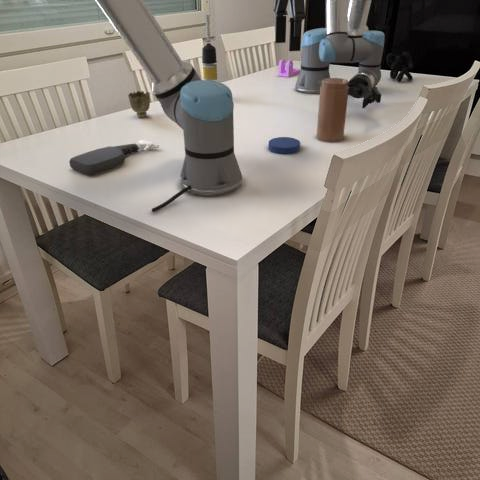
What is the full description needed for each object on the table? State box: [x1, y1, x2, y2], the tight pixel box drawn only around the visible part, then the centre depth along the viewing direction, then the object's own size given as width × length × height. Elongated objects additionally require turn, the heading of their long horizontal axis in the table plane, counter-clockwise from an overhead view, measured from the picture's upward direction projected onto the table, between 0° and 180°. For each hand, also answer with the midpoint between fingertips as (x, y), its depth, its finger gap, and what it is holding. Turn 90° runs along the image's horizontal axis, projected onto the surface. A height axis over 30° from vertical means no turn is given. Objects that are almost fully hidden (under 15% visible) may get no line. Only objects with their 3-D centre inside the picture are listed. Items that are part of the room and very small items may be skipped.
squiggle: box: [385, 51, 414, 83], centre depth 198 cm, size 11×10×15 cm
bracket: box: [277, 59, 301, 78], centre depth 213 cm, size 13×6×7 cm, turn 143°
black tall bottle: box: [201, 14, 218, 82], centre depth 171 cm, size 6×6×30 cm
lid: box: [267, 136, 301, 155], centre depth 130 cm, size 9×9×2 cm
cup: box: [127, 90, 151, 118], centre depth 157 cm, size 8×7×8 cm
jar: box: [316, 77, 349, 143], centre depth 133 cm, size 8×8×17 cm
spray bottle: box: [68, 139, 160, 177], centre depth 124 cm, size 3×11×24 cm
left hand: (287, 46), depth 116 cm, fingers open, 13 cm apart
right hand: (342, 101), depth 139 cm, fingers open, 13 cm apart
